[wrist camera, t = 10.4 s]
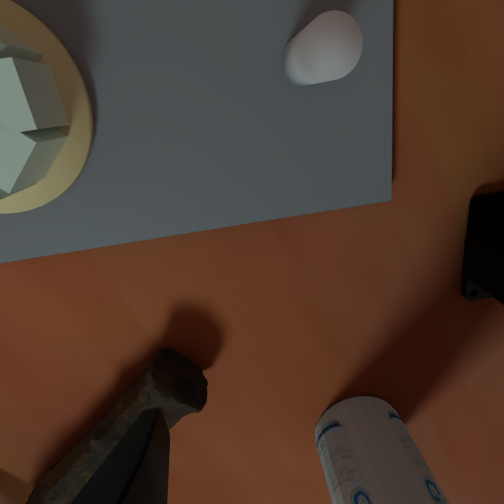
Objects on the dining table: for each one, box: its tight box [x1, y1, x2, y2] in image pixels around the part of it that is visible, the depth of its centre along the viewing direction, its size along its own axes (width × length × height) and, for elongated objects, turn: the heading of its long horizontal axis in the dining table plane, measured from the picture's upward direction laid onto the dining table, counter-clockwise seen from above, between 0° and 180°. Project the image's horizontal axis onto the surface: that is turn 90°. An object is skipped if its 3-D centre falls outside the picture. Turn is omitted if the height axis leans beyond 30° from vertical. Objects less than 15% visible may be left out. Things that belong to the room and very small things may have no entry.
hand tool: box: [25, 348, 208, 504], centre depth 23 cm, size 19×4×5 cm, turn 134°
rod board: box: [0, 0, 393, 263], centre depth 14 cm, size 22×14×6 cm, turn 98°
